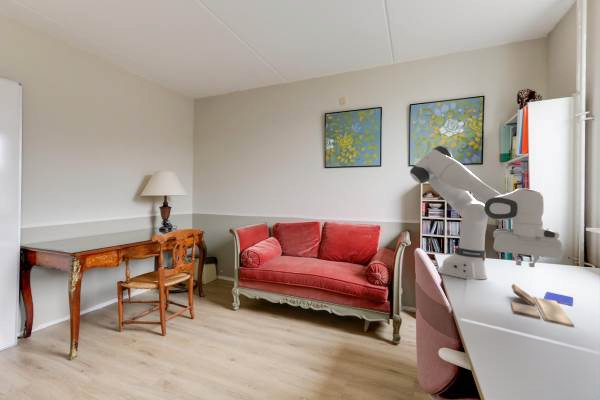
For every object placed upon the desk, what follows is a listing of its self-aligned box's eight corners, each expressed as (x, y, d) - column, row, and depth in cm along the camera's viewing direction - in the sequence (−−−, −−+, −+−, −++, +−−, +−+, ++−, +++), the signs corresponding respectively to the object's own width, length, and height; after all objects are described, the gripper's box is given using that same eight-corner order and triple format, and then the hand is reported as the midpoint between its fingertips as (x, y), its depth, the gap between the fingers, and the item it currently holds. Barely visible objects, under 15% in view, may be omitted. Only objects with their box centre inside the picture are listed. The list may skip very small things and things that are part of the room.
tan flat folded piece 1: (513, 314, 93) (513, 310, 93) (510, 304, 101) (511, 301, 101) (540, 320, 89) (540, 316, 89) (535, 310, 97) (535, 306, 97)
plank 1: (513, 292, 102) (516, 290, 102) (511, 286, 110) (513, 283, 110) (532, 307, 99) (535, 304, 98) (528, 298, 107) (531, 296, 106)
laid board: (544, 322, 88) (544, 318, 88) (532, 299, 107) (532, 296, 107) (573, 328, 84) (574, 324, 84) (556, 304, 103) (556, 300, 103)
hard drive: (572, 305, 100) (573, 297, 108) (543, 298, 106) (546, 291, 114) (572, 309, 100) (573, 300, 108) (543, 302, 106) (546, 294, 114)
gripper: (494, 228, 105) (492, 263, 105) (565, 234, 94) (563, 272, 94) (492, 227, 110) (491, 259, 111) (560, 232, 99) (558, 268, 99)
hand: (524, 265), depth 102 cm, fingers open, 2 cm apart
